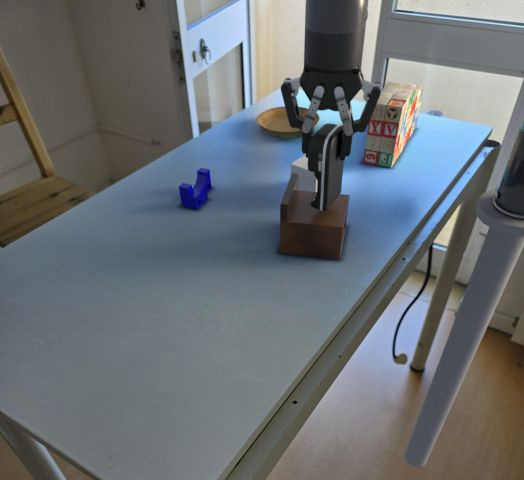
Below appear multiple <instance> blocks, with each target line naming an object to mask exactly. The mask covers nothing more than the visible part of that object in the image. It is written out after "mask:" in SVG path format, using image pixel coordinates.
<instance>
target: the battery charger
mask: <svg viewBox="0 0 524 480" xmlns="http://www.w3.org/2000/svg"><path fill="white" fill-rule="evenodd" d="M343 131H344V129H343V125H342V123H341V124H340V123H338V124H336V123H330V122H329V123H324V124H323V125H322V126H321V127H319V129H318V130H317V131H315V132H314V133H313V136H312V138H311V140H310V143H309V152H308V170H309V171H311V172H315V173H314V175H315V177H316V179H317V181H318V182H317V194H316V196H315V197H314V198H313V199H312V200H311V203H310V204H311V206H312V207H313V208H315V209H319V210H321V211H326V210H328V208H329V207H330V206H331V205H332V203H333V202H334V201H335V200H336V198H337V197H338V196H339V194H342V186H343V174H344V166H345V161H343V160H340V155H341V144H342V135H343Z"/></svg>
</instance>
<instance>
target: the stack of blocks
mask: <svg viewBox="0 0 524 480" xmlns="http://www.w3.org/2000/svg"><path fill="white" fill-rule="evenodd" d="M423 91H424V85H421V84H420V85H419V84H413V83H405V82H404V83H403V82H397V81H387V82H386V84H385V85H384V87H383V88H382V89H381V94H380V97H379V99H378V102H377V104H376V106H375V109H374V111H373V114H372V116H371V118H370V121H369V123H368V126H367V128H366V137H365V138H366V139H365V146H364V151H363V160H362V163H363V164H367V165H373V166H379V167H384V168H388V169H389V168H390V169H391V168H392V167H393V166H394V164H395V163H396V162H397V160H398V158H399V157H400V155H401V153H402V152H403V150H404V147H406V145H407V142H408V141H409V139H410V138H411V136H412V135H413V133H414V132H415V130H416V127H417V123H418V118H419V113H420V108H421V105H422V95H423Z"/></svg>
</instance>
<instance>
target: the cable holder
mask: <svg viewBox="0 0 524 480" xmlns="http://www.w3.org/2000/svg"><path fill="white" fill-rule="evenodd" d="M211 177H212V176H211V170H210V169H209V168H204V167H200V168H199V169H197V170H196V180H195V183H194V185H193V184H190V183H185V182H182V183H181V184H180V185H178V192H179V198H180V203H181V206H182V207H185V208H189V209H192V210H196V211H197V210H199V209H200V208H201V207H202V206H203V205H204V204H205V203H206V202H207V201H209V197H208V193H209V192H210V191H211V190H212V189H213V188H212V187H213V186H212V178H211Z"/></svg>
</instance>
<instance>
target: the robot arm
mask: <svg viewBox="0 0 524 480" xmlns="http://www.w3.org/2000/svg"><path fill="white" fill-rule="evenodd" d="M368 9H369V0H305V11H304V12H305V13H304V15H305V16H304V45H303V46H304V48H303V70H302V73H301V74H300V77H295V78H291V77H286V78H285V79H284V80H283V81H282V84H281V86H280V92H281V97H282V100H283V105H284V106H285V108H286V112H287V116H288V120H289V124H290V126H291V127H292V128H298V129H300V130H301V131H302V136H301V152H302V154H304V155H306V158H308V152H309V143H310V140H311V138H312V136H313V135H314V128H315V127H314V128H312V124H313V121H314V118H315V115H316V113H317V114H318V111H322V112H323V111H327V110H330V111H332V112H338V114H339V118H340V121H341V125H342V126H343V129H344V131H343V135H342V144H341V155H340V160H343V161H344V162H345V161H346V158H349V157H350V155H351V153H352V147H353V138H354V135H355V134H357V133H364V132H366V131H367V129H368V123H369V121H370V118H371V116H372V114H373V111H374V109H375V106H376V104H377V102H378V99H379V97H380V94H381V91H382V89H383V88H382V87H383V84H382V82H380V81H375V82H371V81H369V80H366V79H364V78H365V77H364V74H363V71H362V63H363V55H364V45H365V36H366V26H367V20H368V16H369V10H368ZM299 88H301V89H302V91H303V93H304V94H305V95H306V97H307V99H308V100H309V102H310V104H309V106H308V108H307V109H308V112H307V115H306V118H304V117H302V116H300V111H299V107H300V106H299V104H298V99H297V96H298V94H299V91H300V89H299ZM360 91H362V92H363V97H362V98H363V100H364V101H365V104H364V107H363V109H362V112H361V115H360V117H359V118H358V119H355V118H354V116H353V107H352V101H353V99H354V98H355V97H356V96H357V95H358V93H359V92H360ZM497 188H498V189H497ZM494 189H495V196H494V198H493V201H492V205H493V207H494V208H495V210H496V211H498V212H499V213H501V214H503V215H505V216H507V217H510V218H514V219H519V220H524V116H523V118H522V119H521V123H520V126H519V128H518V132H517V134H516V137H515V139H514V142H513V145H512V148H511V151H510V153H509V156H508V159H507V162H506V164H505V167H504V169H503V172H502V175H501V178H500V181H499V183H498V184H496V186H495V188H494Z"/></svg>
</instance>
